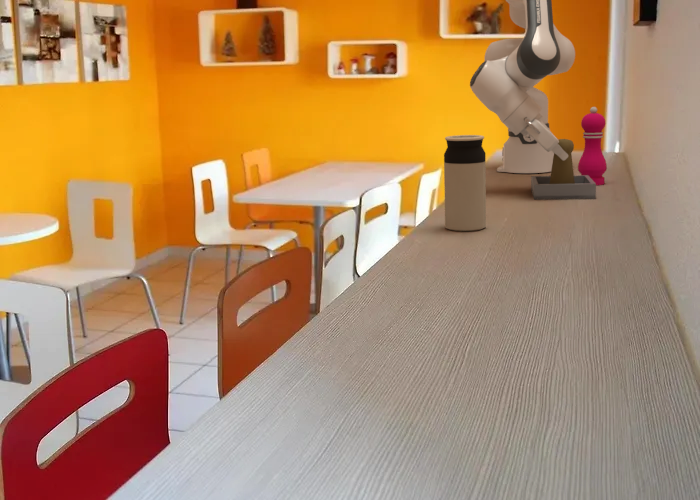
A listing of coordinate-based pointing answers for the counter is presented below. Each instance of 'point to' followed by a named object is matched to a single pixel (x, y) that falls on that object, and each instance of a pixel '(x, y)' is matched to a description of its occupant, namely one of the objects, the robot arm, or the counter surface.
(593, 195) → the tray
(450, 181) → the travel mug
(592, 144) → the pepper mill
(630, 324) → the counter surface
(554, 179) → the brown pawn
